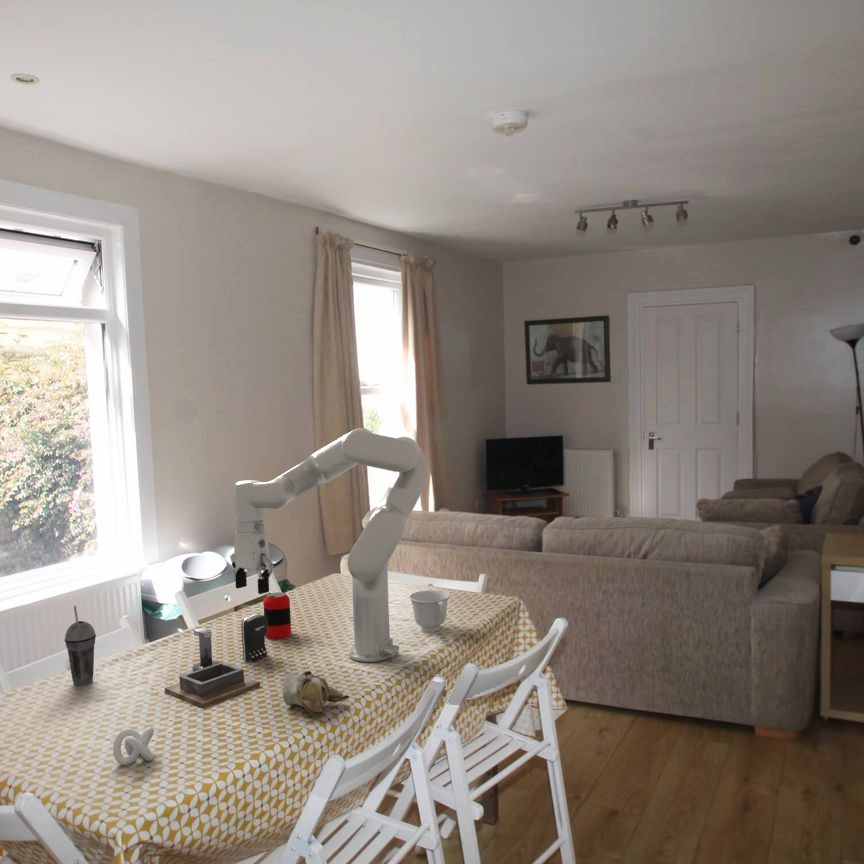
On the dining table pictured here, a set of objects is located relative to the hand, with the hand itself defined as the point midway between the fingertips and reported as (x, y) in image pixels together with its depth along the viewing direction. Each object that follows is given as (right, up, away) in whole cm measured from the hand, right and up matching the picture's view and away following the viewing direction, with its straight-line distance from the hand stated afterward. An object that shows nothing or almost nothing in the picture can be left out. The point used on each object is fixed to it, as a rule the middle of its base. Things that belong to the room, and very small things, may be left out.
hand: (252, 590), depth 212 cm
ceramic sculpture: (+21, -20, -33) cm, 44 cm away
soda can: (+3, -18, +20) cm, 27 cm away
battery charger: (+1, -19, +1) cm, 19 cm away
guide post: (-10, -19, -6) cm, 23 cm away
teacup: (+48, -16, +20) cm, 55 cm away
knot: (-10, -23, -55) cm, 60 cm away
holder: (-5, -20, -20) cm, 29 cm away
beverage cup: (-40, -21, -13) cm, 47 cm away
